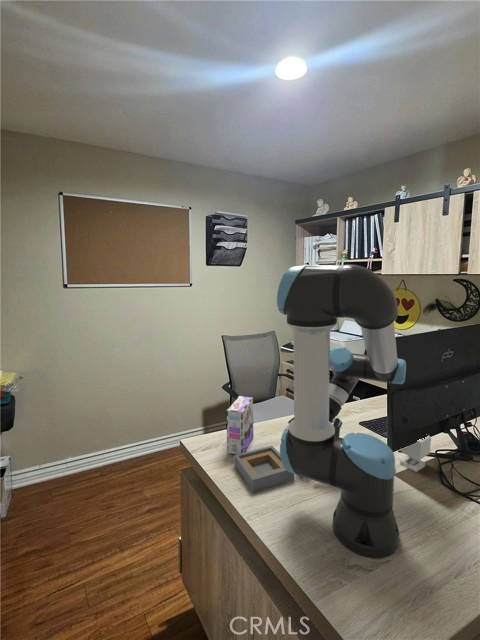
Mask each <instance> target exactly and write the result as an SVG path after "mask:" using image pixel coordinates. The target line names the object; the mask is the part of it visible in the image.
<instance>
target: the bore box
mask: <svg viewBox="0 0 480 640" xmlns="http://www.w3.org/2000/svg"><path fill="white" fill-rule="evenodd" d="M234 467H235V469H236V471H237V472H238V474H239V475H240V476H241V478H242V479H243V481H244V482H245V484H246V485H247V486H248V488H249V489H250V491H251V492H252V493H256V492H260V491H263V490H266V489H270V488H273V487H276V486H279V485H281V484H283V485H284V484H286V483H289V482H292V481H295V474H293V473H291V472H288V471H287V470H286V469H285V468H284V466H283V464H282V461H281V457H280V451H278V450H277V449H276V448H275V447H274V446H273V445H270V446H265V447H262V448H258V449H254V450H249V451H245V453H241V454H237V455H234Z"/></svg>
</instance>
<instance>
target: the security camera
mask: <svg viewBox="0 0 480 640" xmlns="http://www.w3.org/2000/svg"><path fill="white" fill-rule="evenodd" d="M422 439H423V440H422ZM422 439H419V440H417V442H416V443H414V444H412V445H410V446H408V447H406V448H403V449H401V448H400V452H401V453H402V454H404V455H406V456H405V457H403V458H401V459H400V462H399V465H401V466H403V467H406V468H407V469H410V470H411V471H413V472H416V473H417V472H419V471H420V470H422V469H424V468H425V466H426V462H425V461H423V460H422V459H423V458H425V457H426V456H428V455H429V454H430V453H431V445H432V443H431V441H432V438H431V435H428V436H427V437H425V439H424V438H422Z"/></svg>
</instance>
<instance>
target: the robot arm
mask: <svg viewBox="0 0 480 640" xmlns="http://www.w3.org/2000/svg"><path fill="white" fill-rule="evenodd" d="M276 293H277V294H276V295H277V296H276V305H277V308H278V312H279V313H280V314H282V315H283V316H284V315H285V316H286V324H287V325H288V327H290V328H291V329H292V331H293V334H292V335H293V336H292V337H293V343H292V344H293V410H294V411H293V413H294V414H293V415H294V417H292V418H291V419H290V420H288V422H287V423H288V426H286V427H285V428H284V430H283V432H282V434H281V438H280V441H281V443H280V444H279V453H280V457H281V461H282V464H283V466H284V468H285V469H286V470H287V471H288V472H291V473H293V474H294V475H296V476H297V477H299V478H304V479H308V480H311V481H314V482H317V483H321V484H324V485H326V486H329V487H333V488H336V489H339V490H340V498H339V500H338V503H337V504H336V508H335V510H334V511H333V514H332V530H333V532H334V535H335V536H336V538H337V539H338V540H339V542H340V543H341V544H342V545H343V546H344V547H345V548H347V550H348V549H349V550H350V551H352V552H353V553H355V554H358V555H361V556H363V557H366V558H375V559H376V558H377V559H378V558H379V559H380V558H385V557H389V556H390V555H392V554H393V553H395V552H396V550H397V549H398V547H399V543H400V542H399V541H400V531H399V527H398V524H397V521H396V516H395V513H394V510H393V503H394V487H395V486H394V485H395V477H396V474H397V473H396V472H397V471H396V470H397V469H396V456H395V454H394V452H393V450H392V449H391V447H390V446H389V445H388V444H387V443H386V442H384V441H383V440H381V439H380V438H378V437H375V436H373V435H371V434H367V433H364V432H363V433H362V432H349V433H347V434H345V436H343V437H340V433H341V432H340V430H341V427H342V425H343V421H342V420H341V419H340V418H338V417H337V416H338V415H339V414H340V412H341V410H342V407H344V405H345V403H346V402H347V400H348V399H349V396H350V395H351V393H352V391H353V390H354V388H355V386H356V385H357V383H358V382H359V380H368V381H374V382H380V383H386V384H390V383H392V384H395V385H403V384H404V383H405V381H406V374H407V372H406V371H407V362H406V360H405V359H403V358H398V352H397V341H396V330H395V328H396V327H395V321H396V320H397V318H398V314H399V310H398V309H399V308H398V306H399V305H398V301H397V297H396V295H395V293H394V291H393V290H392V289H391V287H390V286H389V284H388V283H387V282H386V281H385V280H384V279H383V278H381V276H380V275H378V274H377V273H375V272H373V271H372V270H370V269H369V268H366V267H365V266H361V265H357V264H320V265H319V264H317V265H313V264H304V265H296V266H291V267H289V268H288V269H286V271H284V273H283V275H282V277H281V279H280V281H279V284H278V288H277V292H276ZM338 318H341V319H343V318H347V319H353V320H354V322H355V323H356V324H357V325H358V327H360V331H361V333H362V338H363V342H364V345H365V350H366V354H360V353H352V351H350V349H349V348H347V347H344V346H336V347H334V348H332V349H331V330H332V329H333V328H334V327H336V326H337V324H338ZM330 371H331V372H332V374H333V376H332V378H331V380H330ZM387 377H388V382H389V383H387Z"/></svg>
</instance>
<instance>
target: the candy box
mask: <svg viewBox="0 0 480 640" xmlns="http://www.w3.org/2000/svg"><path fill="white" fill-rule="evenodd" d="M253 439H254V397H250V396H243V395H238V397H237V398H236V399H235V400H234V401H233V403H232V404H231V405H230V406H229V408H227V409H226V445H227V447H226V448H227V451H226V452H227V454H229V455H237V454H241V453H245V452H247V449H248V448H249V446H250V444H251V443H252V440H253Z"/></svg>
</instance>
